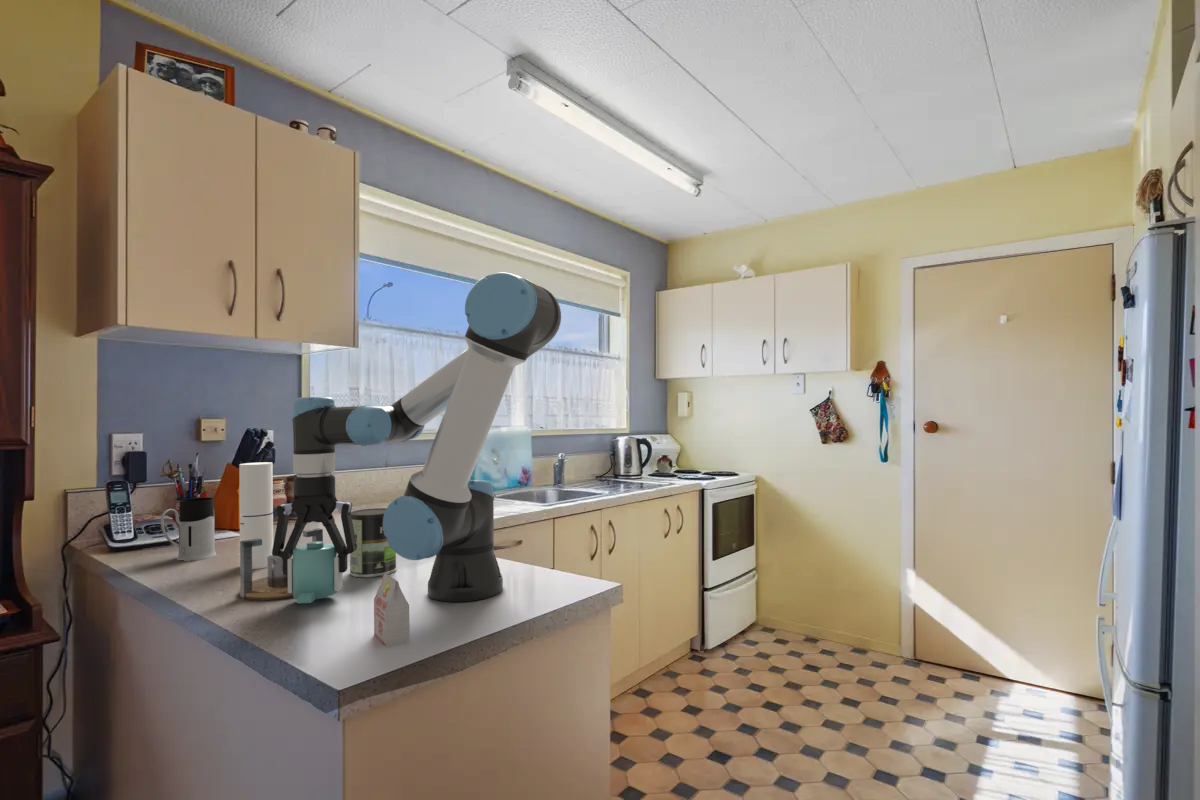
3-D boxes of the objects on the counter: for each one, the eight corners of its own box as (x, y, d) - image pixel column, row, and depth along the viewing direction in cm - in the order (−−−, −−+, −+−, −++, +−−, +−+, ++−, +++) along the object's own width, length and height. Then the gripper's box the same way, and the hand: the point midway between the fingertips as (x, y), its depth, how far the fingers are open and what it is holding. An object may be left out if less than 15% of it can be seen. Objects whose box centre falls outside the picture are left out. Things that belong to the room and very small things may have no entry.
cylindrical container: (259, 569, 146) (258, 464, 147) (232, 569, 148) (232, 464, 148) (279, 562, 153) (279, 462, 154) (254, 561, 155) (253, 462, 155)
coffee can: (404, 567, 147) (404, 508, 147) (381, 578, 137) (380, 515, 137) (366, 565, 149) (365, 507, 149) (340, 576, 139) (339, 514, 139)
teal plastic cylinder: (346, 584, 128) (345, 536, 128) (326, 602, 116) (325, 548, 116) (305, 585, 127) (305, 537, 127) (282, 604, 115) (281, 550, 115)
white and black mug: (224, 553, 164) (224, 497, 164) (175, 567, 150) (175, 505, 150) (198, 552, 166) (197, 496, 166) (147, 565, 152) (147, 504, 153)
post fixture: (339, 586, 131) (339, 532, 132) (259, 605, 119) (258, 546, 119) (304, 574, 142) (303, 524, 142) (226, 591, 129) (226, 536, 129)
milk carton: (396, 630, 105) (395, 571, 105) (409, 641, 99) (408, 579, 99) (374, 635, 103) (373, 575, 103) (386, 647, 97) (385, 583, 97)
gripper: (373, 471, 127) (375, 582, 126) (267, 474, 124) (268, 586, 124) (363, 475, 119) (364, 593, 119) (250, 478, 117) (251, 598, 117)
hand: (315, 589), depth 121 cm, fingers closed on teal plastic cylinder, 8 cm apart
